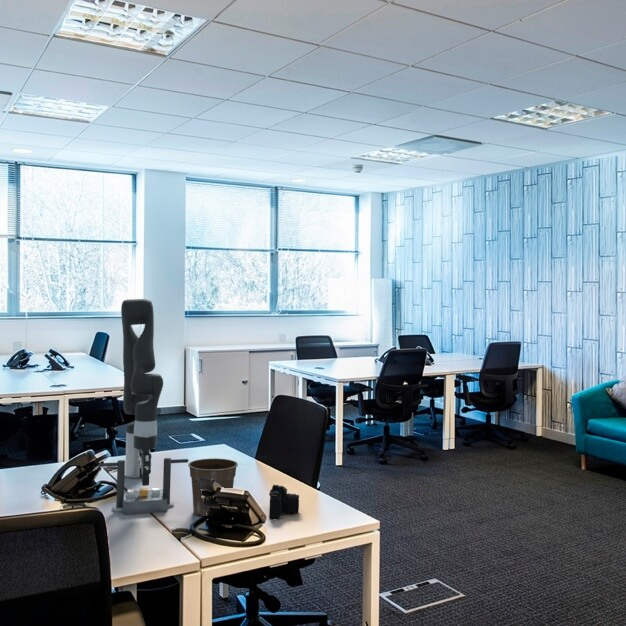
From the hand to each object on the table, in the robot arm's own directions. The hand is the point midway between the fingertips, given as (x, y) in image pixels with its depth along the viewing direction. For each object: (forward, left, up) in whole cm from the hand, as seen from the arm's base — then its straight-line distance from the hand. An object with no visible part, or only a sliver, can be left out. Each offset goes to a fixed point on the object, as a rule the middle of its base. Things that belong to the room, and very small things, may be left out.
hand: (144, 481), depth 223 cm
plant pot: (+10, +21, -9) cm, 25 cm away
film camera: (+17, +44, -9) cm, 48 cm away
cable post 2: (0, +10, -9) cm, 13 cm away
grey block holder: (0, 0, -9) cm, 9 cm away
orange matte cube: (0, 0, -5) cm, 5 cm away
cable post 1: (0, -10, -9) cm, 13 cm away
